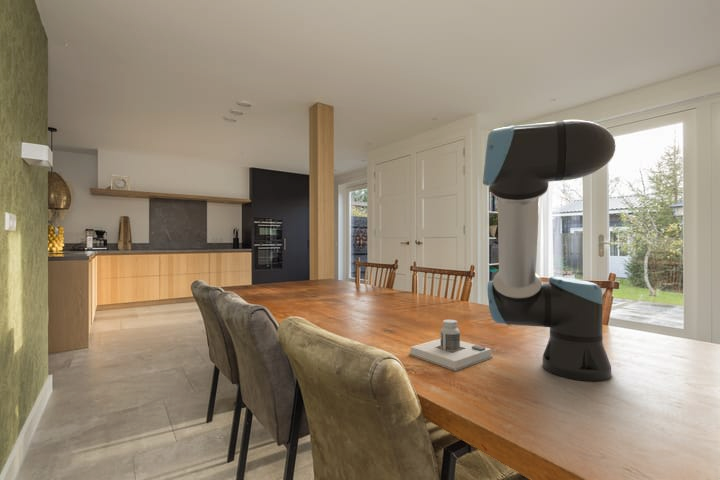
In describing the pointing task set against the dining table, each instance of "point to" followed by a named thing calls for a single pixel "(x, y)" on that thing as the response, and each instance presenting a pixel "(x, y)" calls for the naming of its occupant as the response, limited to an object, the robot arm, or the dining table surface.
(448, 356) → the socket plate
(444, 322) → the pill bottle
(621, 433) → the dining table surface
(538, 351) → the dining table surface
